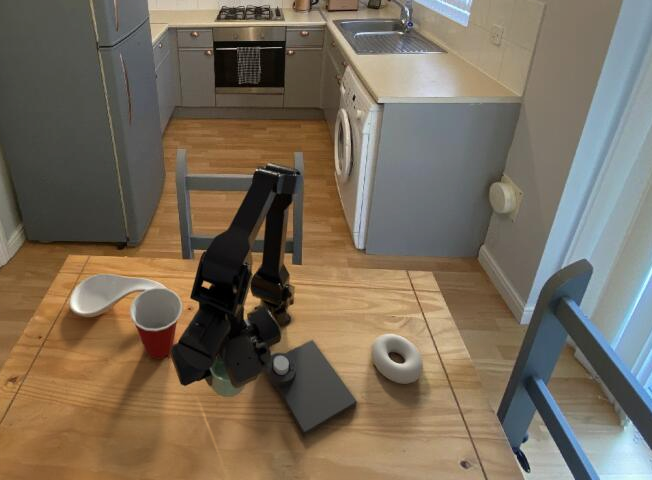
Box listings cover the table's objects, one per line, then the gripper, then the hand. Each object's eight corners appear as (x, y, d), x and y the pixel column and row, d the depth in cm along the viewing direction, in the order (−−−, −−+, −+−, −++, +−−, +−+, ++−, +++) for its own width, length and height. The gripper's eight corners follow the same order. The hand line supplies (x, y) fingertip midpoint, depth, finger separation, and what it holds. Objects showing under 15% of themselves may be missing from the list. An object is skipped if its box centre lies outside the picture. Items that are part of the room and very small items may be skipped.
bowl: (203, 370, 77) (202, 353, 75) (236, 354, 79) (236, 338, 78) (218, 405, 71) (217, 388, 69) (253, 388, 74) (253, 371, 72)
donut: (373, 383, 84) (427, 392, 82) (374, 371, 82) (429, 380, 80) (367, 337, 93) (416, 345, 91) (369, 326, 91) (418, 333, 89)
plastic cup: (194, 353, 90) (191, 313, 85) (146, 380, 85) (140, 339, 80) (172, 316, 98) (169, 277, 94) (128, 338, 93) (122, 299, 89)
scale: (260, 369, 86) (260, 359, 85) (312, 344, 91) (313, 334, 90) (299, 439, 75) (300, 429, 73) (356, 406, 80) (358, 395, 78)
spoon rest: (64, 325, 96) (58, 303, 94) (81, 284, 107) (77, 263, 104) (166, 326, 96) (164, 304, 93) (173, 285, 107) (171, 263, 104)
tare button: (270, 364, 85) (270, 359, 84) (283, 358, 86) (283, 353, 85) (278, 378, 82) (278, 372, 81) (291, 371, 83) (291, 366, 83)
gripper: (190, 382, 59) (195, 448, 65) (302, 330, 66) (297, 394, 72) (166, 319, 68) (172, 382, 74) (266, 279, 75) (264, 339, 81)
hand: (227, 375), depth 75 cm, fingers closed on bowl, 7 cm apart
